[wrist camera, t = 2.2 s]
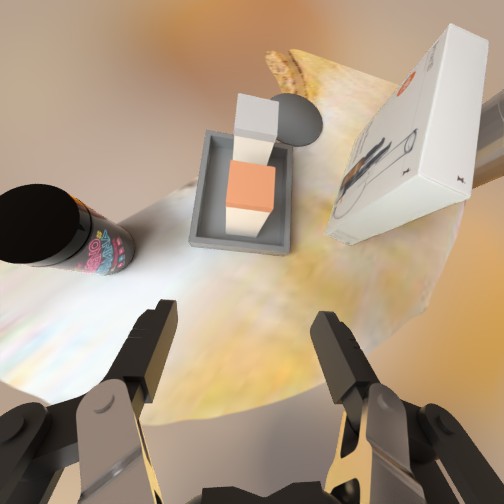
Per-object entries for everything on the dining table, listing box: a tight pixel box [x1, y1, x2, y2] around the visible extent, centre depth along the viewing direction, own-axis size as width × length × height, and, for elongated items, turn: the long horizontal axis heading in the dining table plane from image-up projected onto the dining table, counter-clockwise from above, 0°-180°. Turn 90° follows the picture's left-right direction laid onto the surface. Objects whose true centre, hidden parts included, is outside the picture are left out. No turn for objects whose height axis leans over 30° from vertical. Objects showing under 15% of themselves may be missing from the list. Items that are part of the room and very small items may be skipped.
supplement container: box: [0, 184, 135, 275], centre depth 20 cm, size 7×7×10 cm
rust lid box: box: [226, 160, 276, 238], centre depth 23 cm, size 5×5×10 cm
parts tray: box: [188, 130, 293, 256], centre depth 28 cm, size 18×14×2 cm
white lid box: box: [233, 93, 279, 166], centre depth 25 cm, size 5×5×10 cm
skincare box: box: [324, 23, 489, 246], centre depth 25 cm, size 21×5×16 cm, turn 157°
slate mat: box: [270, 93, 322, 146], centre depth 34 cm, size 11×11×1 cm
